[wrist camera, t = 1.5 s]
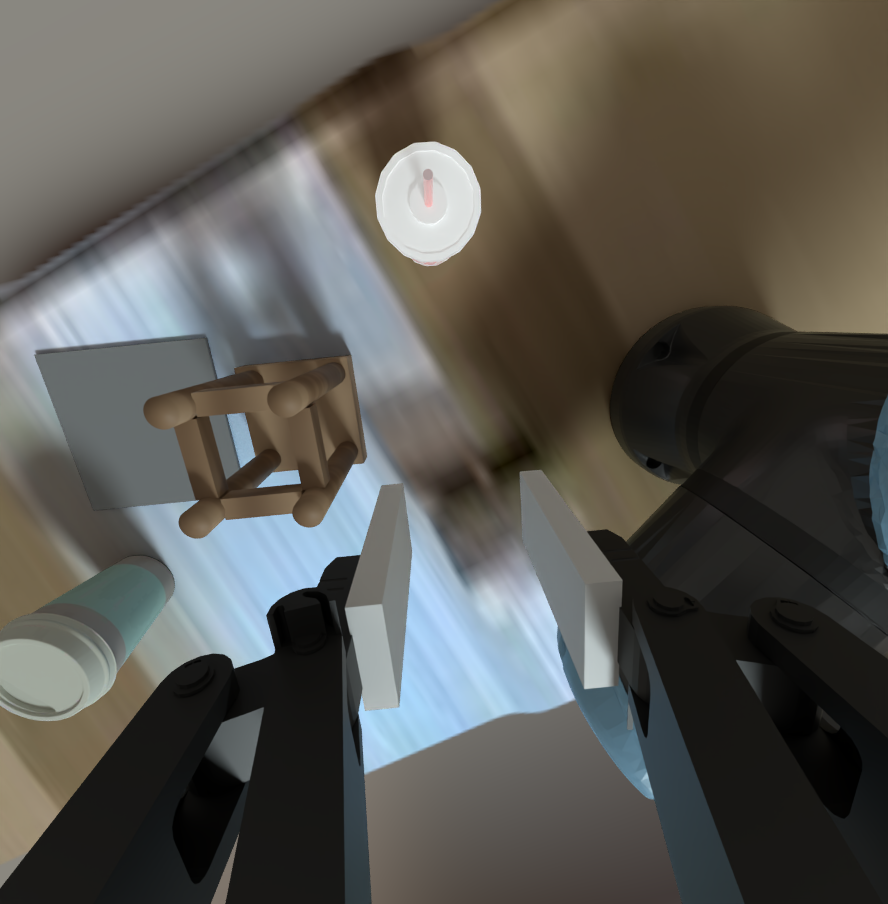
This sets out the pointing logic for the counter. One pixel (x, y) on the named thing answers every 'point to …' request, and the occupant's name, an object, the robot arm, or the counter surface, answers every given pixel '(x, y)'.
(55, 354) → the mat
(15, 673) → the coffee cup
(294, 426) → the stool
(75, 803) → the robot arm
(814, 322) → the counter surface
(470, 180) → the beverage cup
